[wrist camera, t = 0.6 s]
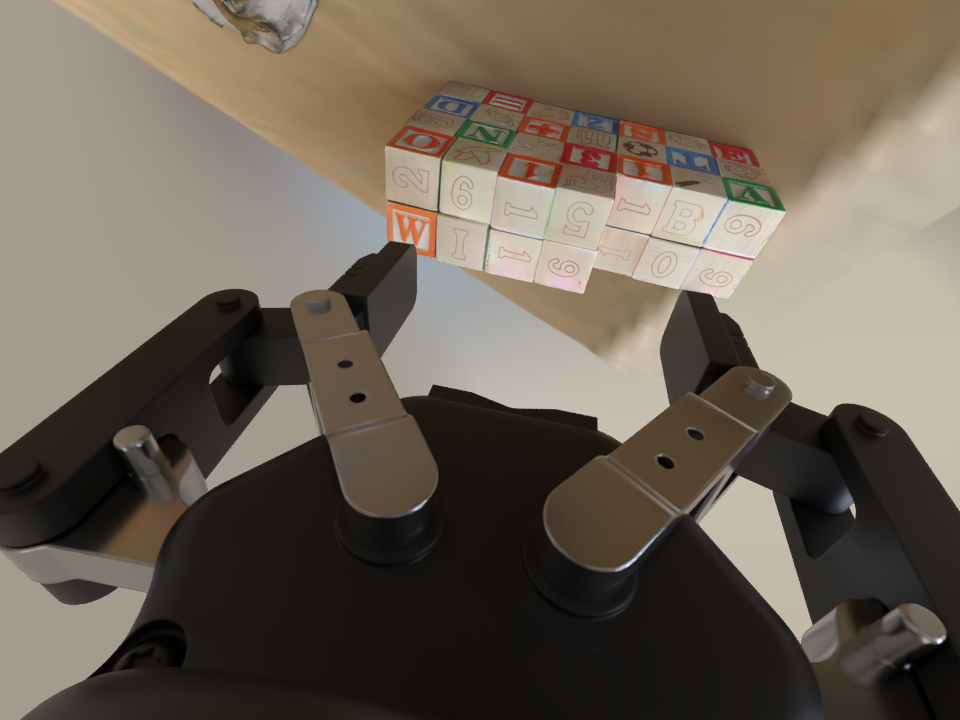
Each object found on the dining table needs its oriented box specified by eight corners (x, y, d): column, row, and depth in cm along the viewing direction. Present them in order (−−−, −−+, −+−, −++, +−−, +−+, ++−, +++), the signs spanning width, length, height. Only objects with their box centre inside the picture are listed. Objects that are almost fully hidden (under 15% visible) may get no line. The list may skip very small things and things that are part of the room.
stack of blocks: (756, 146, 30) (805, 242, 21) (709, 229, 34) (735, 335, 26) (447, 79, 31) (380, 144, 23) (441, 168, 36) (384, 249, 27)
